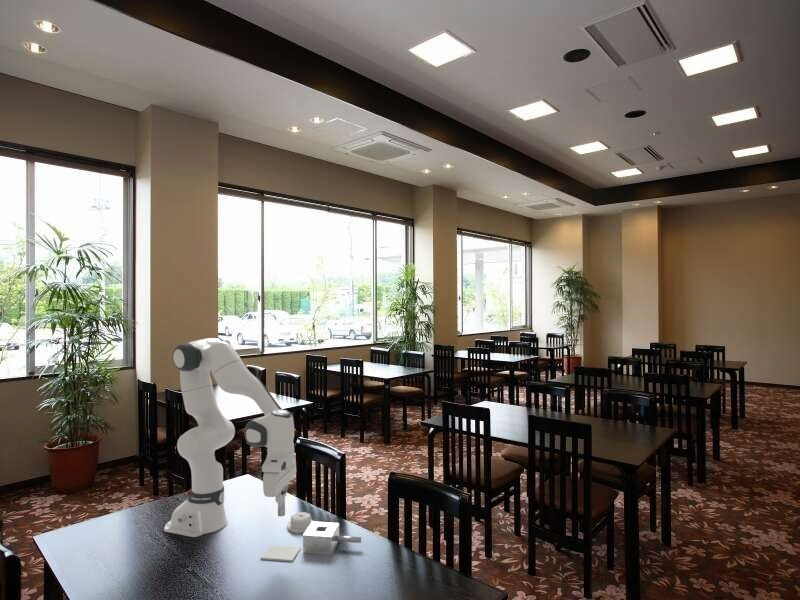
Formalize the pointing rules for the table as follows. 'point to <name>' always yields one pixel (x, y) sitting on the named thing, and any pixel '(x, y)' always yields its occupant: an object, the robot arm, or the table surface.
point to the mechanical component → (299, 522)
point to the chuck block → (324, 538)
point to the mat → (281, 553)
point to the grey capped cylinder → (282, 503)
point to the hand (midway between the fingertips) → (281, 499)
